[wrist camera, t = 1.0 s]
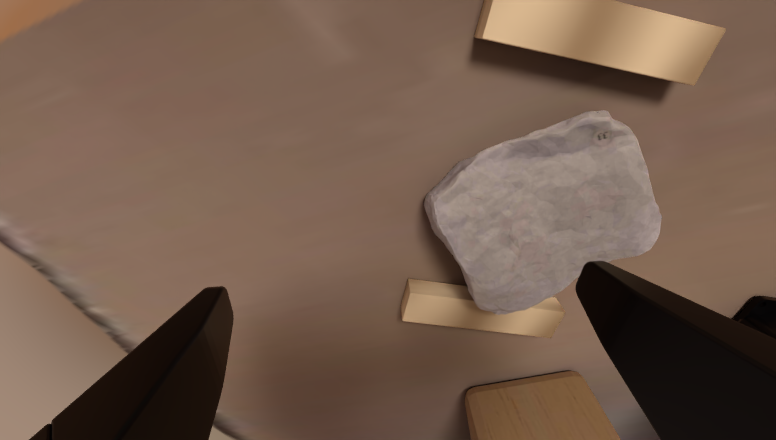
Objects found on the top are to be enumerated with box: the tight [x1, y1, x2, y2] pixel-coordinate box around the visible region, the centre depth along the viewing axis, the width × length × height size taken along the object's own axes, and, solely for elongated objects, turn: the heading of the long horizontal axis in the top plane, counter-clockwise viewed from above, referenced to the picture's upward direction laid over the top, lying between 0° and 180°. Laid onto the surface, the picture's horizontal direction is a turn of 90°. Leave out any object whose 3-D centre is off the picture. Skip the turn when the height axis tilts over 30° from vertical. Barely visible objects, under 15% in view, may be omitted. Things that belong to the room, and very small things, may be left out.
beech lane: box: [401, 0, 726, 338], centre depth 21 cm, size 11×20×2 cm, turn 169°
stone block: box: [424, 110, 662, 315], centre depth 21 cm, size 12×5×10 cm
